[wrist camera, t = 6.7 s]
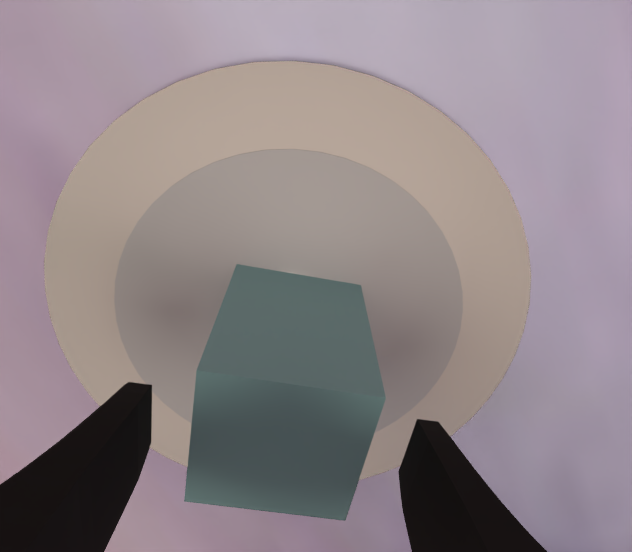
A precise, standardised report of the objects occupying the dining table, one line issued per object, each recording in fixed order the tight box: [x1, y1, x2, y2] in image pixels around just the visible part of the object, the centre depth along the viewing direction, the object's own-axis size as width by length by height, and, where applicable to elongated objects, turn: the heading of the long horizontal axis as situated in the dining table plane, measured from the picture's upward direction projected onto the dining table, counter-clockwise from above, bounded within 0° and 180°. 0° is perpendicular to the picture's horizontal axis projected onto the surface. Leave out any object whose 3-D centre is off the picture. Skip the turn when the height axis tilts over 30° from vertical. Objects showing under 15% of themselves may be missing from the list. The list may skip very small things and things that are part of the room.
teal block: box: [184, 264, 386, 521], centre depth 14 cm, size 4×4×6 cm
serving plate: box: [44, 61, 531, 480], centre depth 17 cm, size 18×18×1 cm
